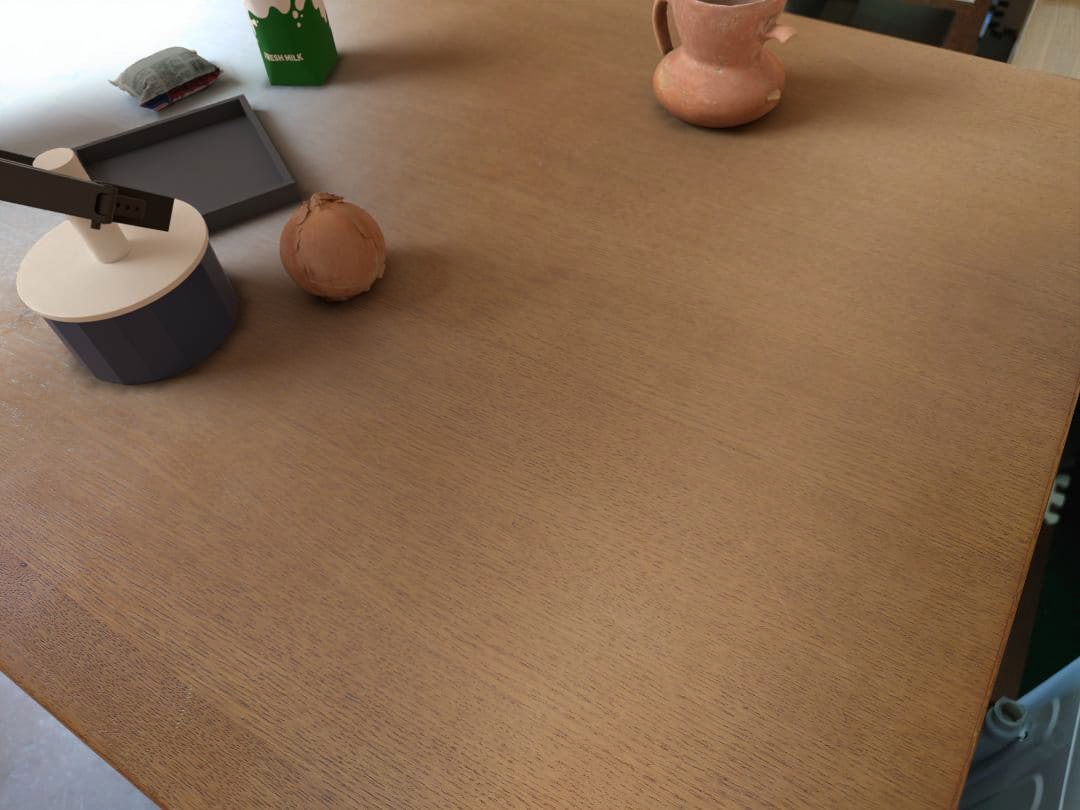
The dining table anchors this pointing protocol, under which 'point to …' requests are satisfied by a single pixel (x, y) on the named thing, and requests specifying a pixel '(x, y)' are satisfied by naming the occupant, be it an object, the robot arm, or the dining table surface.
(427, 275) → the dining table surface
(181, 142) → the tray
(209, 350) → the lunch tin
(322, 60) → the milk carton
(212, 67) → the packaged food
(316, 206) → the onion
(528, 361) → the dining table surface
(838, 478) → the dining table surface
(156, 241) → the tin lid
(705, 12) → the ceramic jug
